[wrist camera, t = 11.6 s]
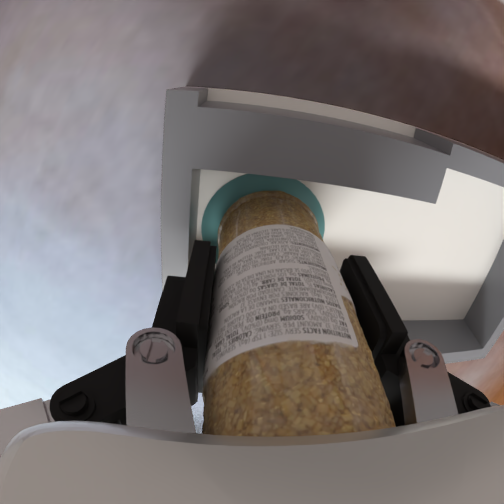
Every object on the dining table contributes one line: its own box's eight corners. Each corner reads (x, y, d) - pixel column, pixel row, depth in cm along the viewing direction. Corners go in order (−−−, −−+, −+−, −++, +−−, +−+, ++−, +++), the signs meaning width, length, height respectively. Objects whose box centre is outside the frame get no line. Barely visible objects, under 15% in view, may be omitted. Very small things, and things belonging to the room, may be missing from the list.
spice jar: (309, 277, 16) (381, 574, 4) (215, 274, 15) (196, 594, 4) (325, 189, 13) (498, 542, 2) (217, 182, 13) (165, 613, 2)
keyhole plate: (529, 172, 14) (567, 196, 10) (462, 324, 20) (484, 358, 17) (185, 86, 12) (166, 89, 9) (177, 314, 18) (167, 362, 15)
